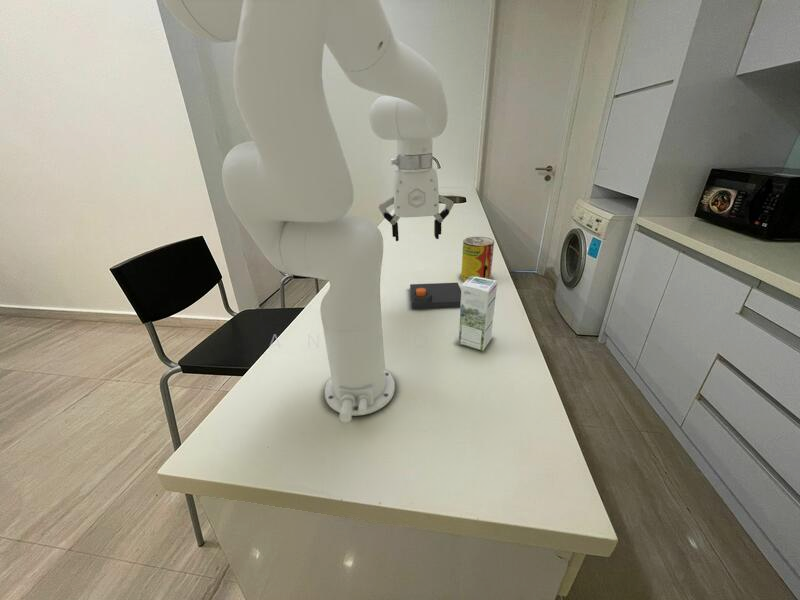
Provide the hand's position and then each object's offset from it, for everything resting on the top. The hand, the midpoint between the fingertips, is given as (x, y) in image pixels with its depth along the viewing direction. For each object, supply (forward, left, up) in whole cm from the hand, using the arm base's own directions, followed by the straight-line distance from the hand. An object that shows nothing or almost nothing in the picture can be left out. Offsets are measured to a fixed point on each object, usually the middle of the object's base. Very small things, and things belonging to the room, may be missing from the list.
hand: (416, 238), depth 80 cm
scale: (+4, -5, -19) cm, 20 cm away
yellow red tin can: (+17, -19, -19) cm, 32 cm away
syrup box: (-18, -11, -19) cm, 28 cm away
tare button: (0, -1, -15) cm, 15 cm away
